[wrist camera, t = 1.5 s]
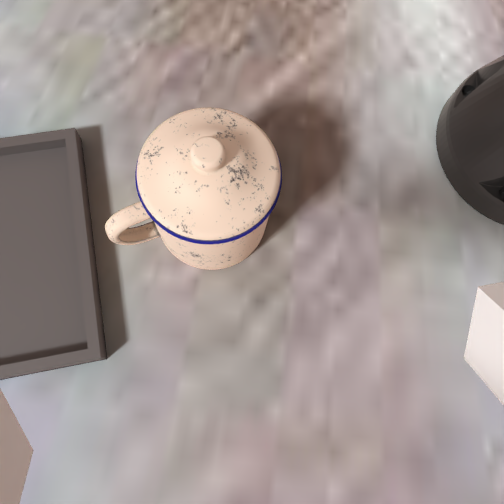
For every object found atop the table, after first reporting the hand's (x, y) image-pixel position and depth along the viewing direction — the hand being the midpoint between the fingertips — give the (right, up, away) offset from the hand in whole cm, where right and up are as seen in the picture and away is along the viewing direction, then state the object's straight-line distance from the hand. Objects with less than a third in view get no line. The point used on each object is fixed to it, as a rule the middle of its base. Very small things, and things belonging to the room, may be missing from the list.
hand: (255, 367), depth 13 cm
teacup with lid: (-5, +5, +24) cm, 25 cm away
